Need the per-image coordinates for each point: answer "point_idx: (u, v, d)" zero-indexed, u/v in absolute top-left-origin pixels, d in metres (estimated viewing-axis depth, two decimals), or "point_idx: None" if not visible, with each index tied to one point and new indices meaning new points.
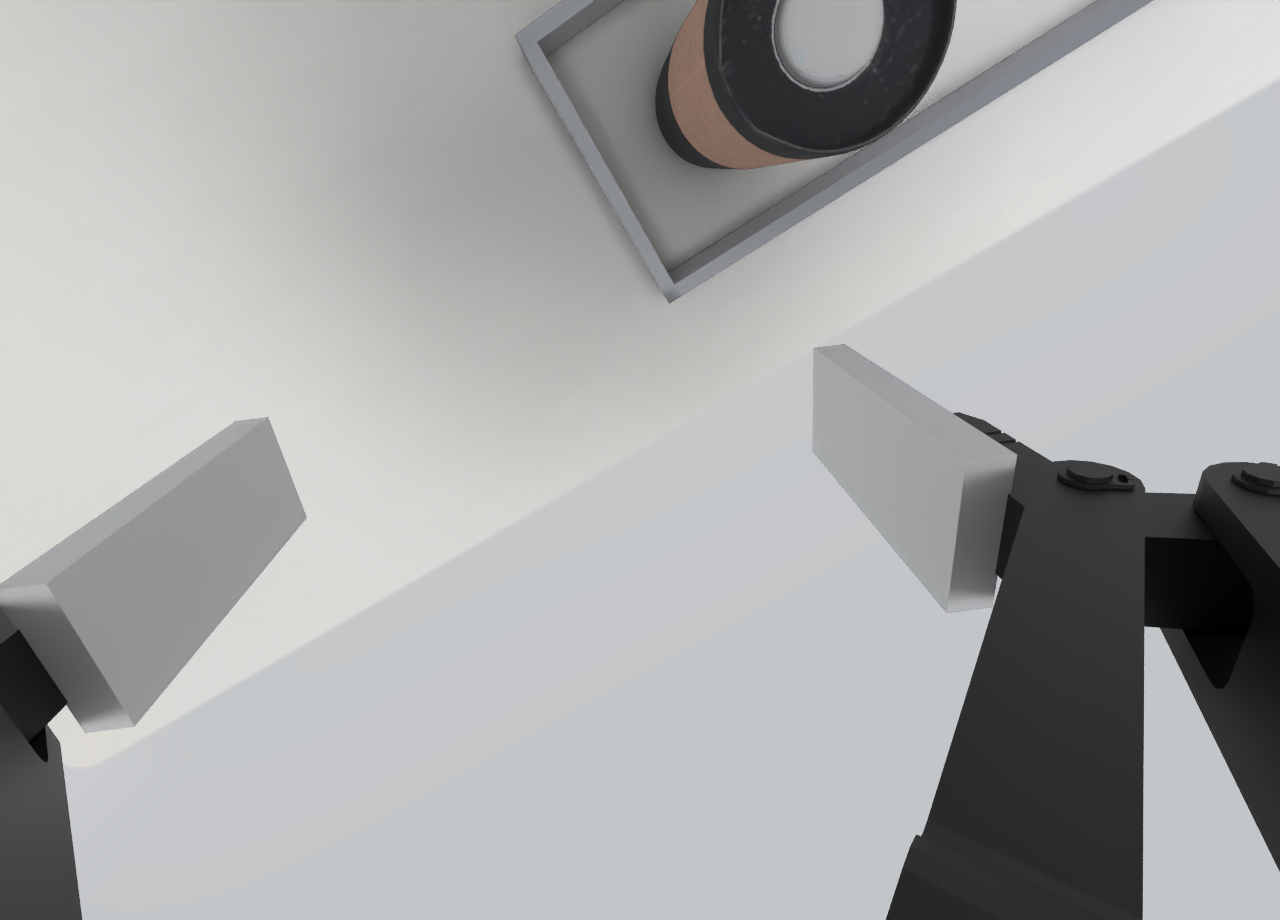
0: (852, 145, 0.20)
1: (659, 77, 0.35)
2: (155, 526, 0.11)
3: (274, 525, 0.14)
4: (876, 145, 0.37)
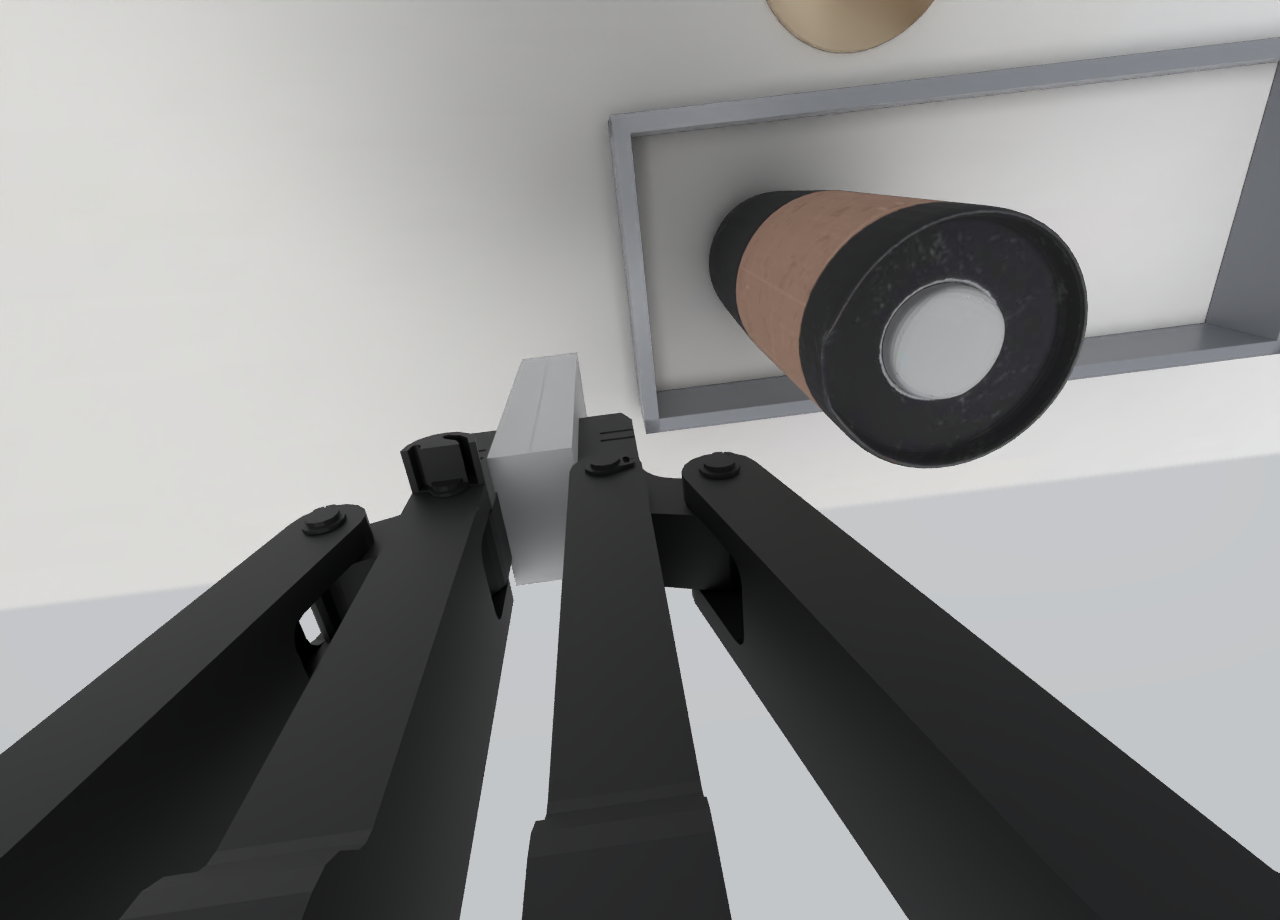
0: (912, 462, 0.19)
1: (731, 217, 0.33)
2: None
3: None
4: None
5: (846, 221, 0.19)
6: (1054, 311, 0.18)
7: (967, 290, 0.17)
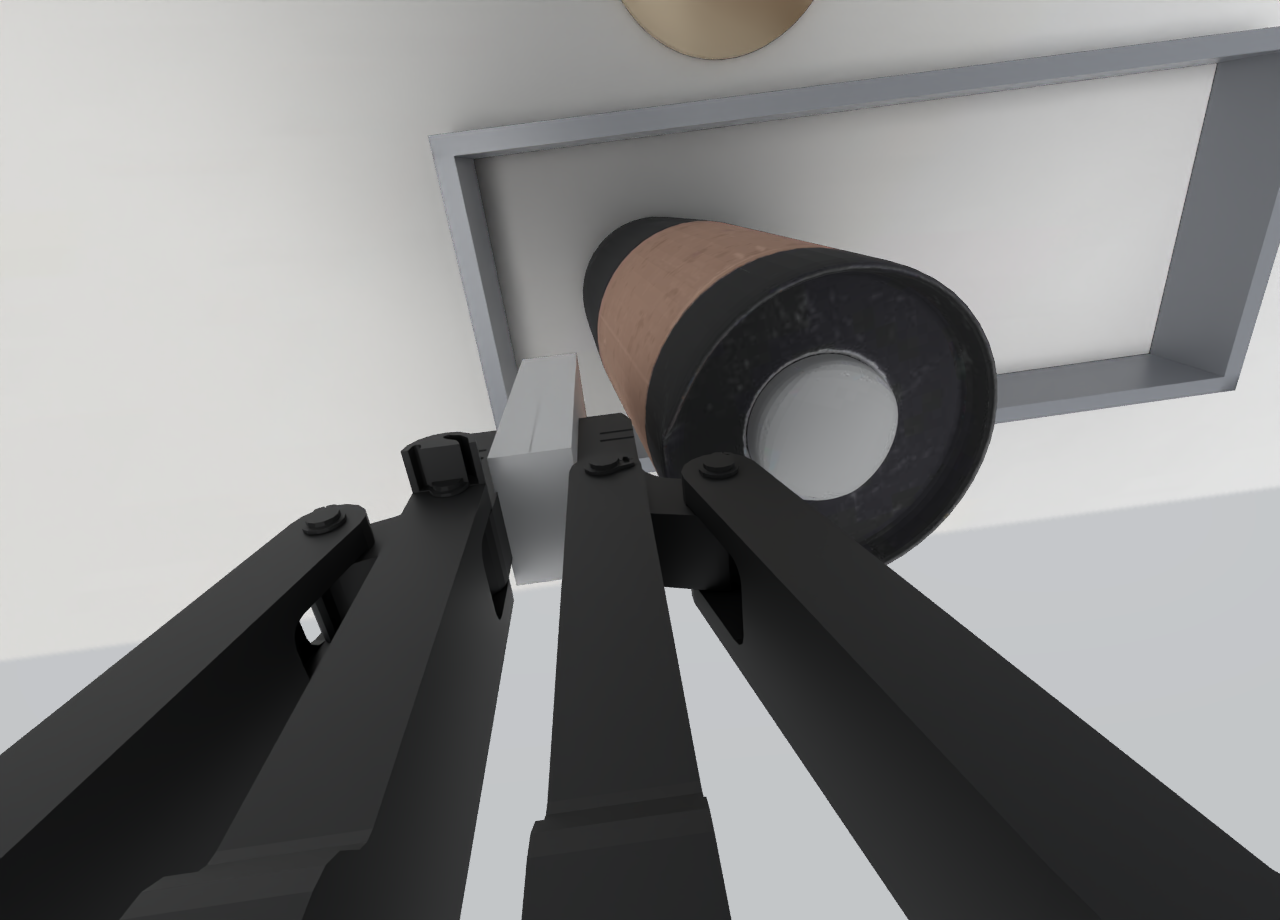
0: None
1: (601, 248, 0.28)
2: None
3: None
4: None
5: (697, 270, 0.15)
6: (957, 383, 0.14)
7: (846, 365, 0.13)
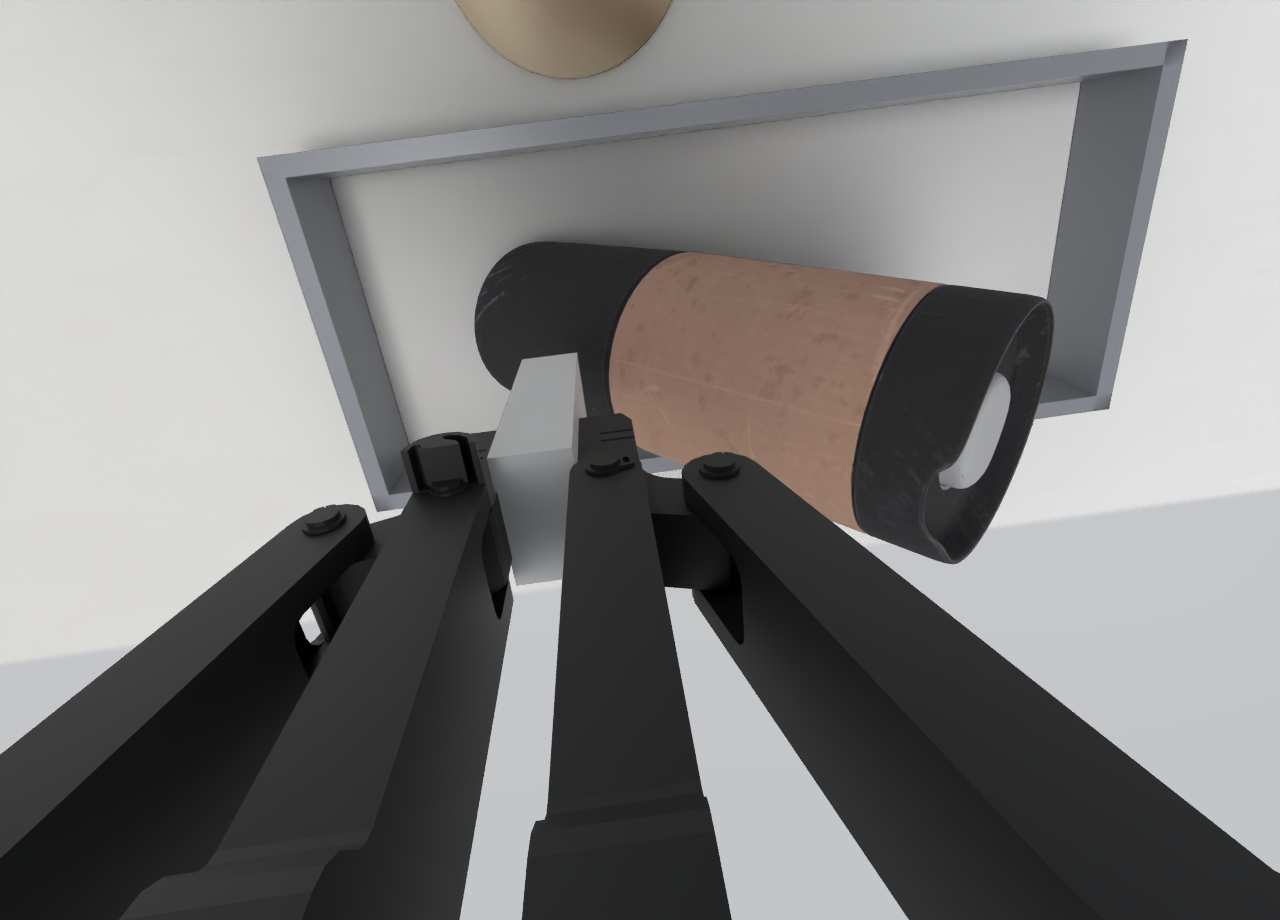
0: (963, 553, 0.18)
1: (507, 282, 0.25)
2: None
3: None
4: None
5: (843, 314, 0.16)
6: (1011, 373, 0.19)
7: (1001, 377, 0.16)
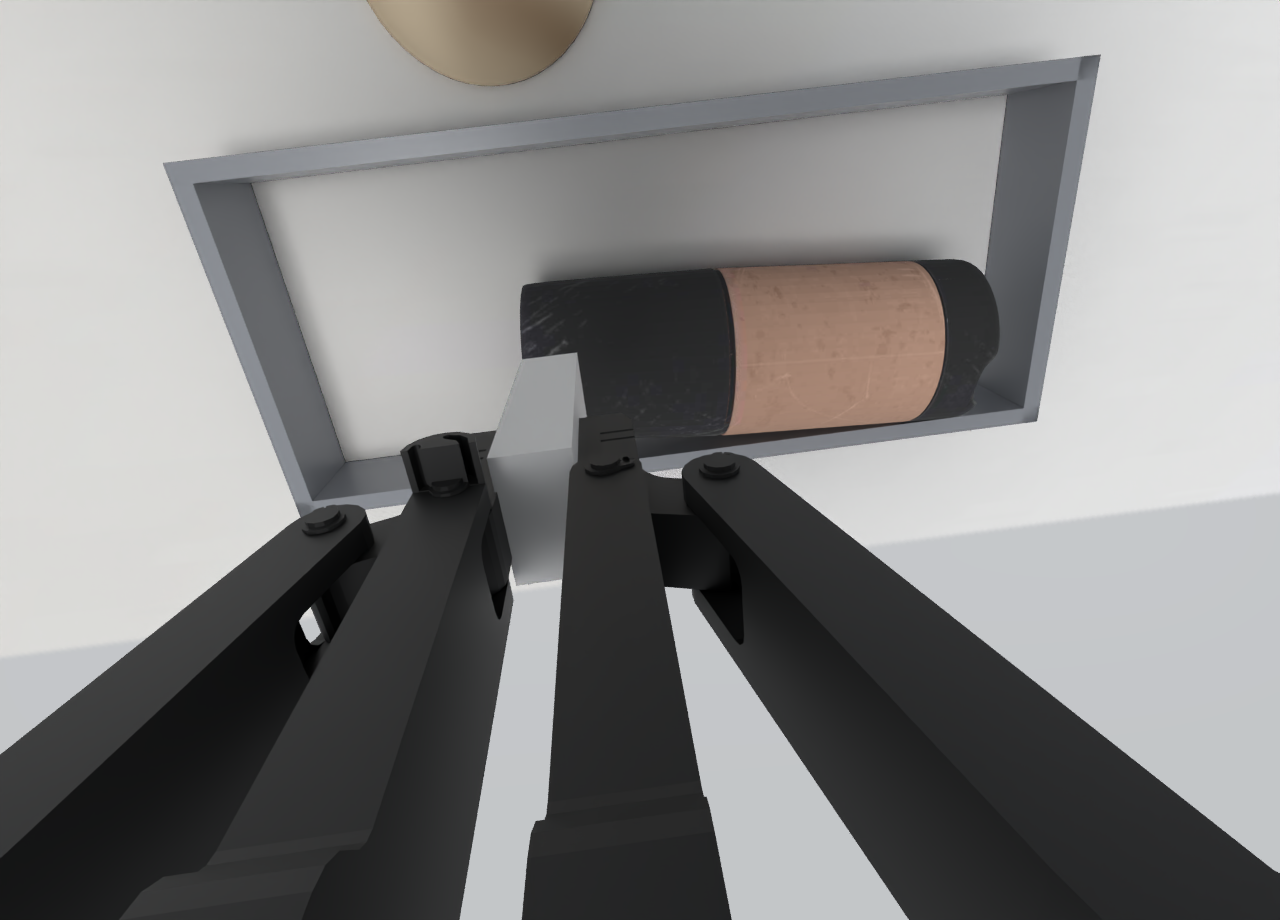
0: None
1: (564, 330, 0.25)
2: None
3: None
4: None
5: (901, 290, 0.26)
6: None
7: None
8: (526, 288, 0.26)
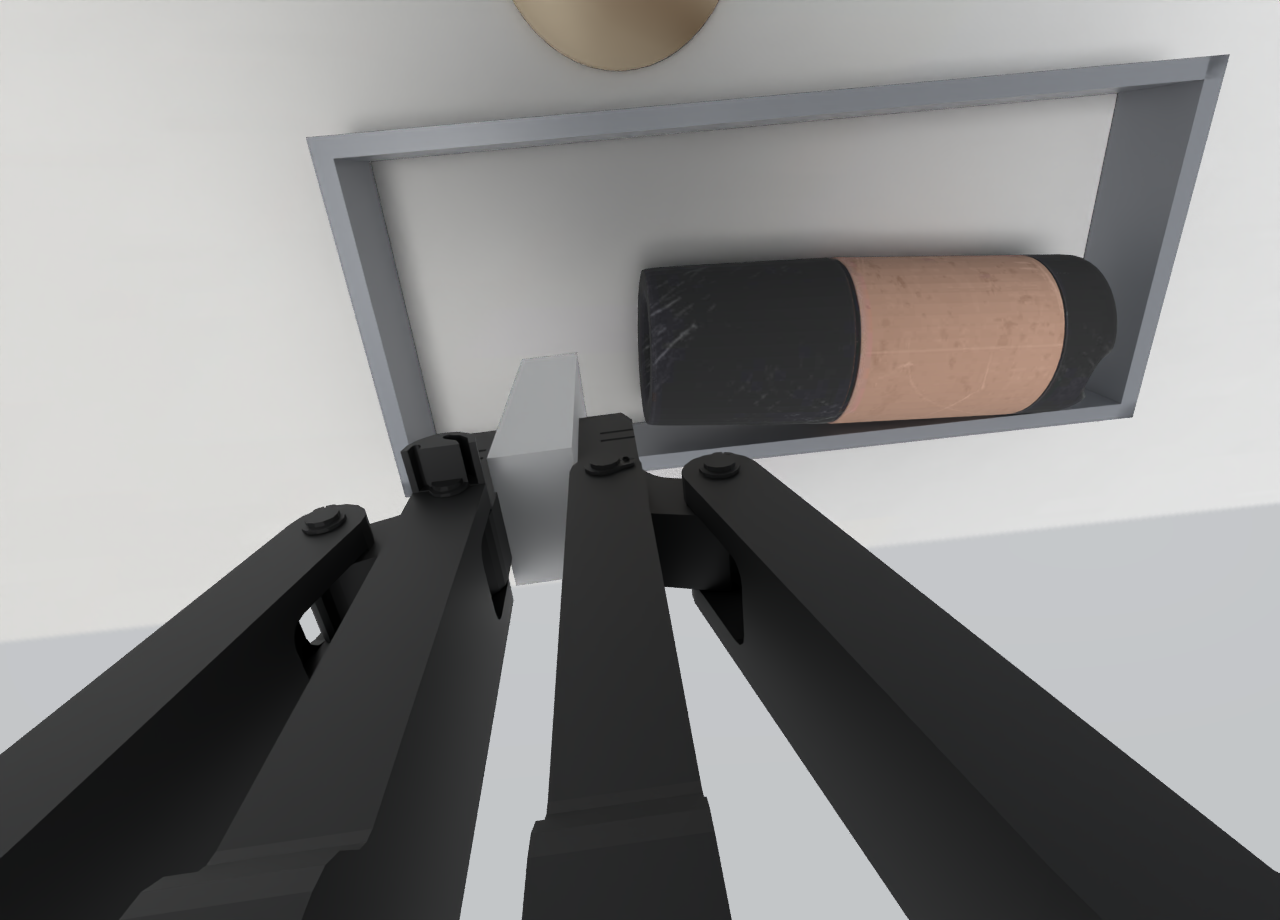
0: None
1: (693, 313, 0.25)
2: None
3: None
4: (707, 425, 0.33)
5: (1021, 282, 0.26)
6: None
7: None
8: (649, 272, 0.27)
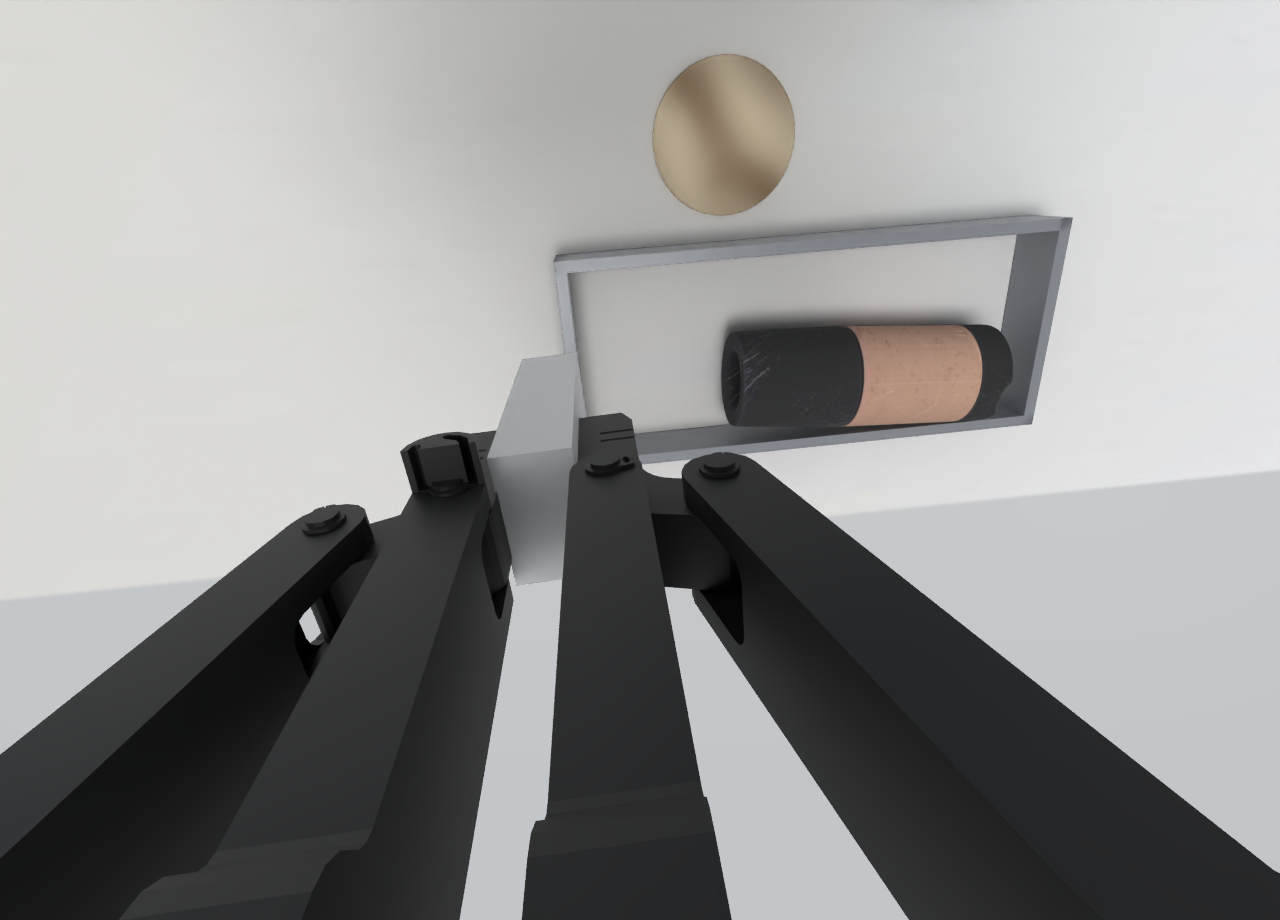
0: None
1: (767, 361, 0.44)
2: None
3: None
4: (763, 427, 0.51)
5: (957, 344, 0.45)
6: None
7: None
8: (739, 335, 0.45)
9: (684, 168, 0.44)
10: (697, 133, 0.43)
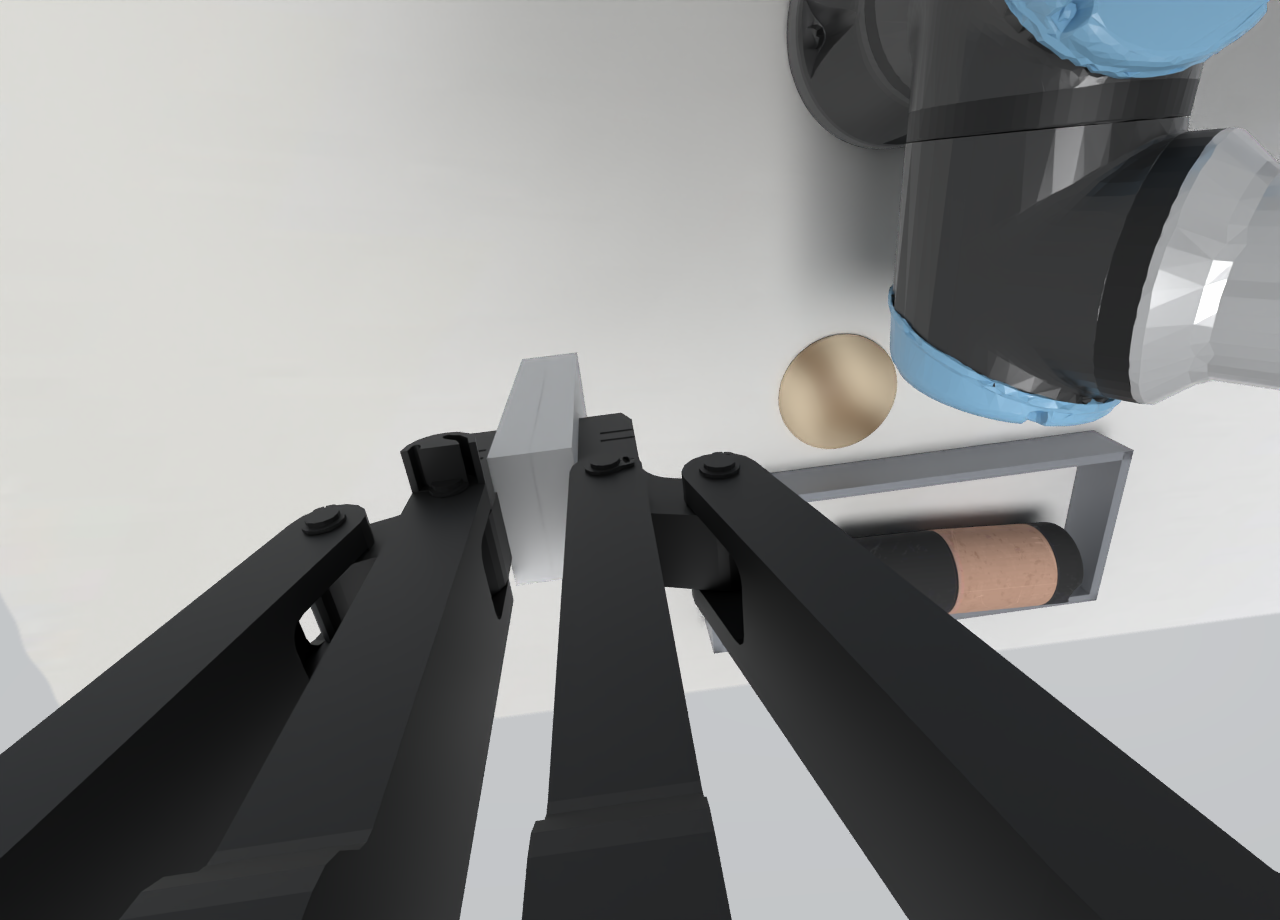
0: None
1: None
2: None
3: None
4: None
5: (1035, 552, 0.54)
6: None
7: None
8: None
9: (804, 417, 0.53)
10: (816, 392, 0.52)
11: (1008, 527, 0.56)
